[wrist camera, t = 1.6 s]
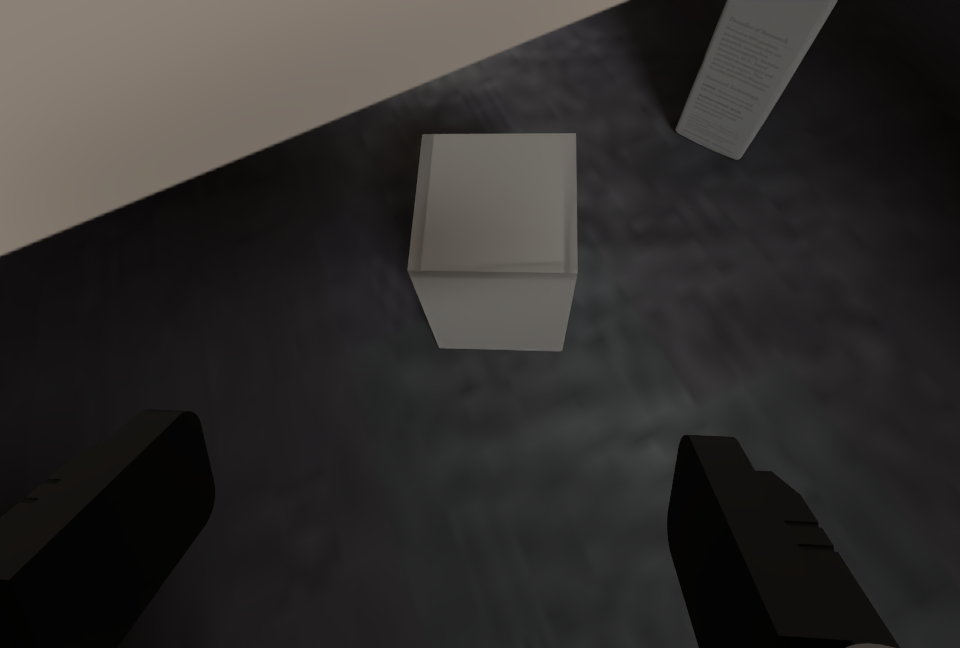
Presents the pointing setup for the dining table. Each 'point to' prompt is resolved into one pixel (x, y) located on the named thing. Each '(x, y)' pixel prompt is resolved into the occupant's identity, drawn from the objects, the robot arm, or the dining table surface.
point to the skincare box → (748, 69)
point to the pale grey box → (496, 239)
